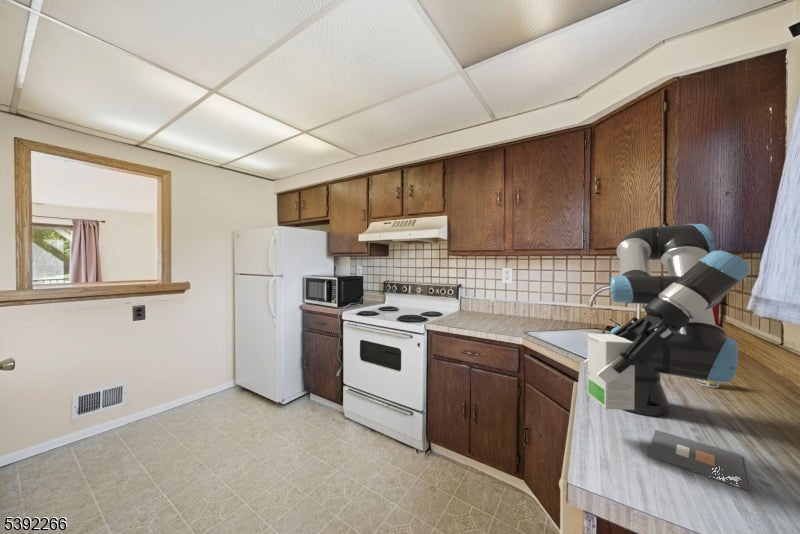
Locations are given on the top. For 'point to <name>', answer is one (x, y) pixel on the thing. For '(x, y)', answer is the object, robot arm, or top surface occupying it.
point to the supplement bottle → (708, 383)
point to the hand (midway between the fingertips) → (594, 372)
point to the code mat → (697, 457)
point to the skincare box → (600, 356)
